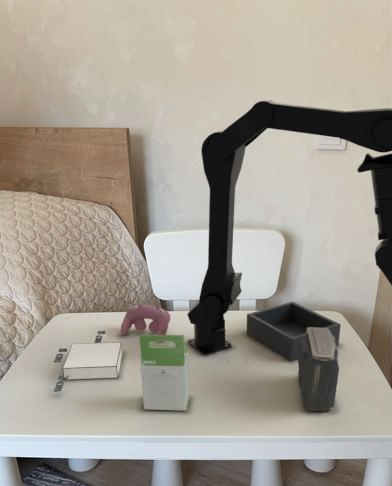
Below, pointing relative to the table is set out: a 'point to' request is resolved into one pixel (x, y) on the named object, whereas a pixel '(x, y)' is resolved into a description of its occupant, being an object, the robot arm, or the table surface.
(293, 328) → the bin
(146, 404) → the ink box
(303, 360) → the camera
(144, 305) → the video game controller
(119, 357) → the container
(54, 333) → the table surface
